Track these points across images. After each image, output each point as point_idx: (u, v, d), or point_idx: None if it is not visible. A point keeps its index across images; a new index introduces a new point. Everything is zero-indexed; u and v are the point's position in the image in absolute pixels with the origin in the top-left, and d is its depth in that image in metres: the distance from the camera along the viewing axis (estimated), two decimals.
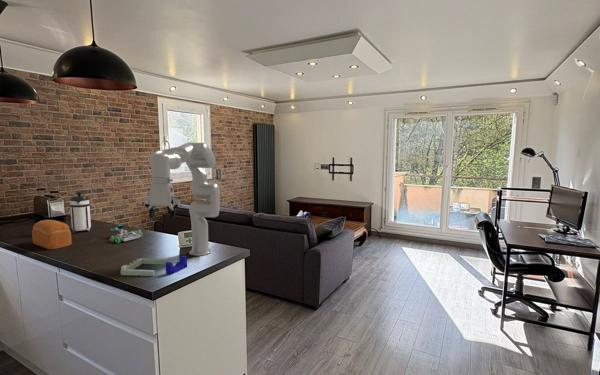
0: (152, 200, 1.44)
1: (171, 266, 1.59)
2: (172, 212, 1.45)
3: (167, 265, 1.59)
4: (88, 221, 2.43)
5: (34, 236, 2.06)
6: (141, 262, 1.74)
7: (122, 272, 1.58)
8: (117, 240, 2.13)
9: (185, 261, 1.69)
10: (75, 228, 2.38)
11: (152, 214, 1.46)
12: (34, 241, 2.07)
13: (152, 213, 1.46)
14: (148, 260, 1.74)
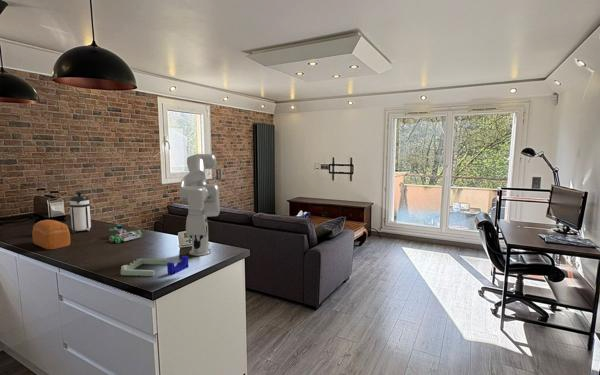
0: (188, 229, 1.60)
1: (173, 266, 1.59)
2: (198, 242, 1.62)
3: (169, 265, 1.59)
4: (88, 221, 2.43)
5: (34, 236, 2.06)
6: (141, 262, 1.74)
7: (122, 272, 1.58)
8: (117, 240, 2.13)
9: (186, 261, 1.69)
10: (75, 228, 2.38)
11: None
12: (34, 241, 2.08)
13: None
14: (148, 260, 1.74)
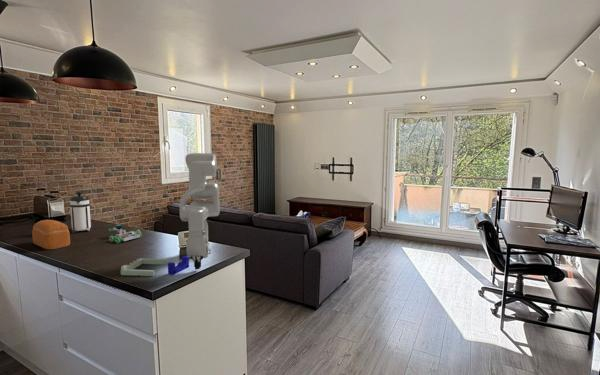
0: (189, 250, 1.61)
1: (173, 266, 1.59)
2: (198, 263, 1.63)
3: (169, 265, 1.59)
4: (88, 221, 2.43)
5: (34, 236, 2.06)
6: (141, 262, 1.74)
7: (122, 272, 1.58)
8: (117, 240, 2.13)
9: (187, 261, 1.69)
10: (75, 228, 2.38)
11: None
12: (34, 241, 2.08)
13: None
14: (148, 260, 1.74)
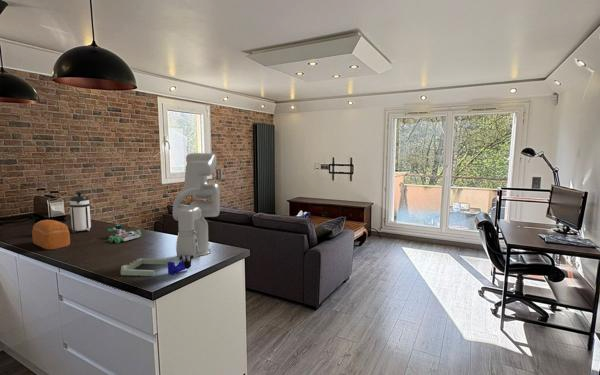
0: (179, 250, 1.61)
1: (173, 266, 1.59)
2: (188, 263, 1.63)
3: (169, 265, 1.59)
4: (88, 221, 2.43)
5: (34, 236, 2.06)
6: (141, 262, 1.74)
7: (122, 272, 1.58)
8: (117, 240, 2.13)
9: None
10: (75, 228, 2.38)
11: None
12: (34, 241, 2.08)
13: None
14: (148, 260, 1.74)
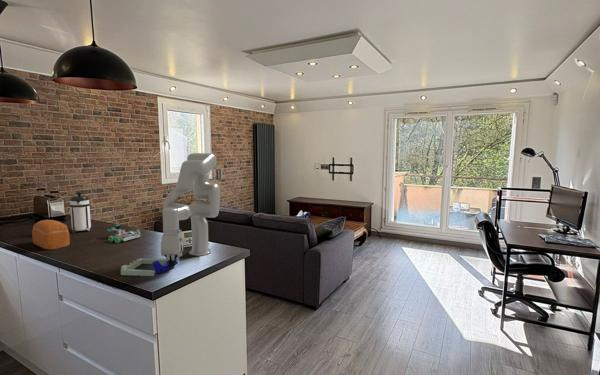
0: (163, 249, 1.61)
1: (158, 264, 1.59)
2: (172, 262, 1.63)
3: (154, 264, 1.59)
4: (88, 221, 2.43)
5: (34, 236, 2.06)
6: (141, 262, 1.74)
7: (122, 272, 1.58)
8: (117, 240, 2.13)
9: None
10: (75, 228, 2.38)
11: None
12: (34, 241, 2.08)
13: None
14: (148, 260, 1.74)
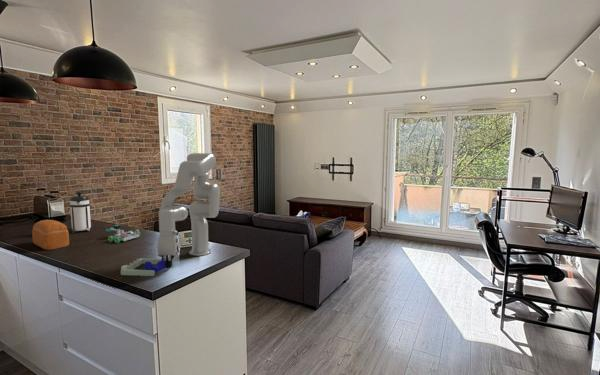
0: (160, 250, 1.63)
1: (150, 266, 1.60)
2: (169, 262, 1.64)
3: (146, 265, 1.60)
4: (88, 221, 2.43)
5: (33, 236, 2.06)
6: (141, 262, 1.74)
7: (122, 272, 1.58)
8: (117, 240, 2.13)
9: None
10: (75, 228, 2.38)
11: None
12: (34, 241, 2.08)
13: None
14: (148, 260, 1.74)
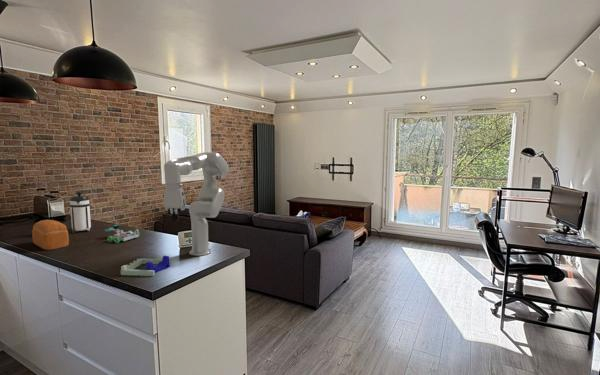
0: (166, 203, 1.65)
1: (151, 266, 1.59)
2: (176, 215, 1.67)
3: (147, 265, 1.59)
4: (88, 221, 2.43)
5: (33, 236, 2.06)
6: (141, 262, 1.74)
7: (122, 272, 1.58)
8: (116, 240, 2.13)
9: (167, 261, 1.69)
10: (75, 228, 2.38)
11: None
12: (34, 241, 2.08)
13: None
14: (148, 260, 1.74)
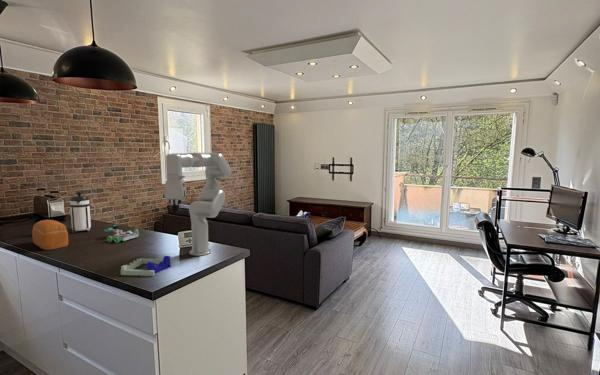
0: (167, 194, 1.66)
1: (153, 266, 1.59)
2: (176, 206, 1.68)
3: (149, 265, 1.59)
4: (88, 221, 2.43)
5: (33, 236, 2.07)
6: (141, 262, 1.74)
7: (122, 272, 1.58)
8: (116, 240, 2.13)
9: (168, 261, 1.69)
10: (75, 228, 2.38)
11: None
12: (34, 241, 2.08)
13: None
14: (148, 260, 1.74)
